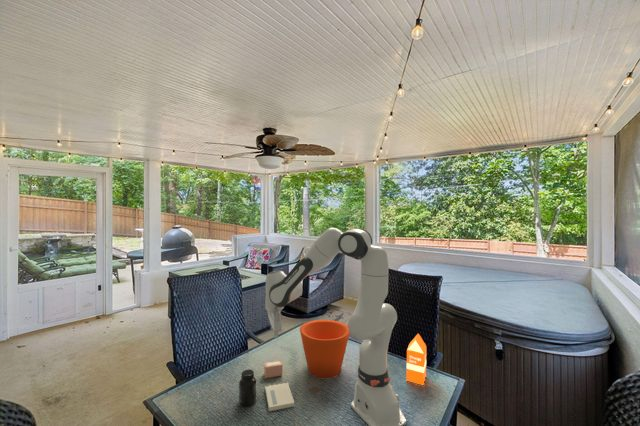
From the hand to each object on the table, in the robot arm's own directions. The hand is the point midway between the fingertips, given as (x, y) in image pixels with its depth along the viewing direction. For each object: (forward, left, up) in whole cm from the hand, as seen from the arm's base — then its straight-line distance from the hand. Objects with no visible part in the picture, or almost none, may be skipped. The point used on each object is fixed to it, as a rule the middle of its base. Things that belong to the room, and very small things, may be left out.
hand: (274, 333), depth 132 cm
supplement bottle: (-17, +13, -20) cm, 29 cm away
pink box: (0, 0, -19) cm, 19 cm away
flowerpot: (-3, -25, -20) cm, 32 cm away
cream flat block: (-18, 0, -19) cm, 26 cm away
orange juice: (-23, -64, -20) cm, 70 cm away
